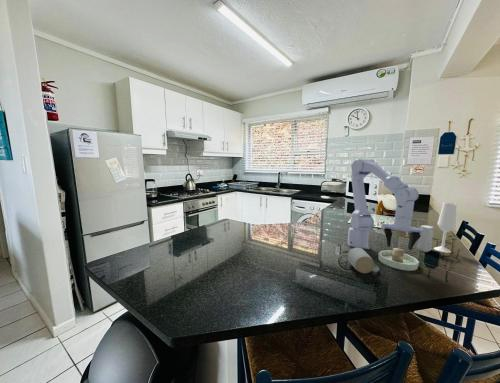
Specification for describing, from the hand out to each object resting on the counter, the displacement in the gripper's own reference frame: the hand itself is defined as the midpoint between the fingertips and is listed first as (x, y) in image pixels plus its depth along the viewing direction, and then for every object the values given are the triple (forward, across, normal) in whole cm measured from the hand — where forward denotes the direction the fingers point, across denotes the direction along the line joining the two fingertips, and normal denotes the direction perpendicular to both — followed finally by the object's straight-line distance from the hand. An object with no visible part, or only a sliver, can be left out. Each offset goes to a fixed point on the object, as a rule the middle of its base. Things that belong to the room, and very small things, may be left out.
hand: (399, 247), depth 91 cm
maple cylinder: (+6, 0, 0) cm, 6 cm away
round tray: (+7, 0, 0) cm, 7 cm away
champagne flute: (+7, +26, +28) cm, 39 cm away
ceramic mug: (+7, -14, -13) cm, 21 cm away
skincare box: (+7, +17, +24) cm, 30 cm away
